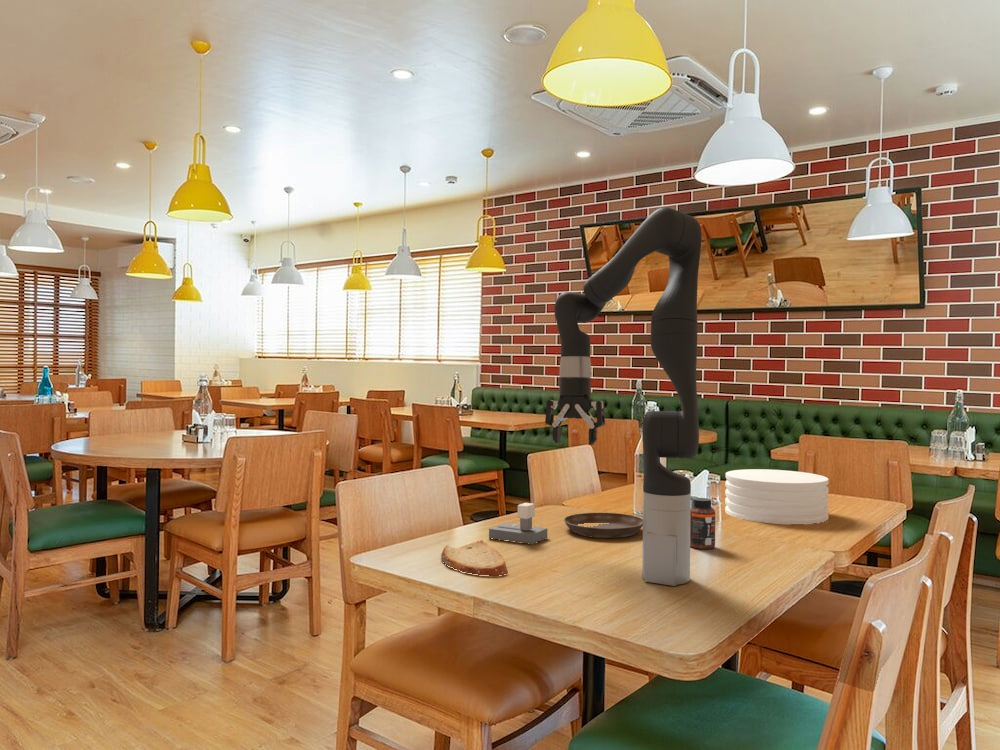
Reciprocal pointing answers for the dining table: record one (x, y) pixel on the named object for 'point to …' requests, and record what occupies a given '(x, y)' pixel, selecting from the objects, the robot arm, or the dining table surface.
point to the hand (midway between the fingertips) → (574, 443)
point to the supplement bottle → (702, 524)
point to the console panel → (517, 533)
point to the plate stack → (777, 496)
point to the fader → (526, 515)
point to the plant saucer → (616, 528)
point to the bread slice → (475, 559)
